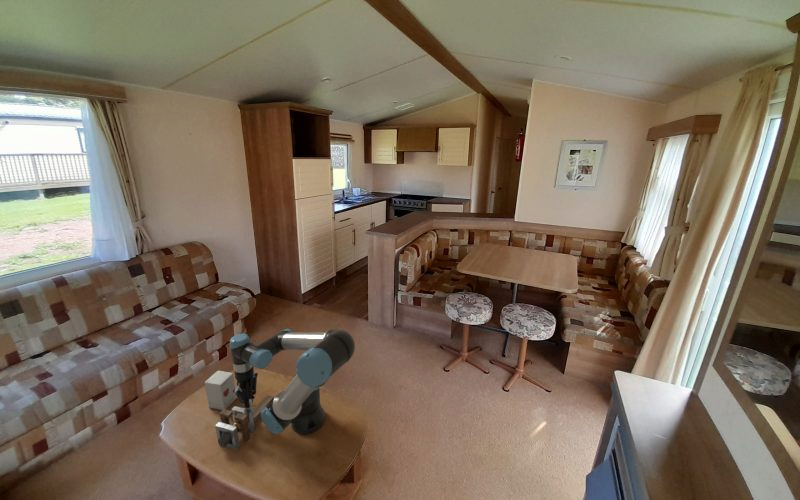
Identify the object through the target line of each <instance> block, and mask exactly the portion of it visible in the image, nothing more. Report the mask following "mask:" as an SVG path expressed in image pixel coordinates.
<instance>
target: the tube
mask: <svg viewBox="0 0 800 500" xmlns="http://www.w3.org/2000/svg"><path fill="white" fill-rule="evenodd" d="M252 414H253V413H252ZM231 425H232V426H235V427H237V431H238V433H239V432H240V431H242V430H241V424H240V421H236V422H234V421H233V423H232V424H231ZM231 440H232V438H231V433H228V432H225V433H224V434H223V435H222V436H221V437H220V438H219V439H218V438H217V443H218V445H219V446H220V447H223V448H226V447H225V446H226V445H227V444H228V443H229V442H230V441H231Z"/></svg>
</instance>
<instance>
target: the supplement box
mask: <svg viewBox="0 0 800 500" xmlns="http://www.w3.org/2000/svg"><path fill="white" fill-rule="evenodd" d="M204 387H205V393H206V394H205V395H206V398H207V405H208V408H210V409H216V410H220V411H222V410H223V409H226V410H227V409H228V407H230V406H231V404H233V402H234V401H235V400H236V399H238V398H237V396H236V394H235V393H234V392H233V390H234V389H236V384H235V376H234V372H228V371H222V370H216V372H214V373H213V374H212V375H211V376H210V377H209V378H208V379H207V380H205V381H204Z"/></svg>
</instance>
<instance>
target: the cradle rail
mask: <svg viewBox="0 0 800 500" xmlns="http://www.w3.org/2000/svg"><path fill="white" fill-rule="evenodd" d="M274 398H275V397H274V396H272V395H269V394H265V395H264V396H263V398H261V400H260V401H259V402H258V403H257V404H256V405H255V406H253V408H254V411H253V412H252V413H253V421H254V424H255V423H256V422H257V421H258V420H259V419H261V411H262V409H264V407H265V406H267V405H269V404H270V403H271V402H272V401H273V399H274Z"/></svg>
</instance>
